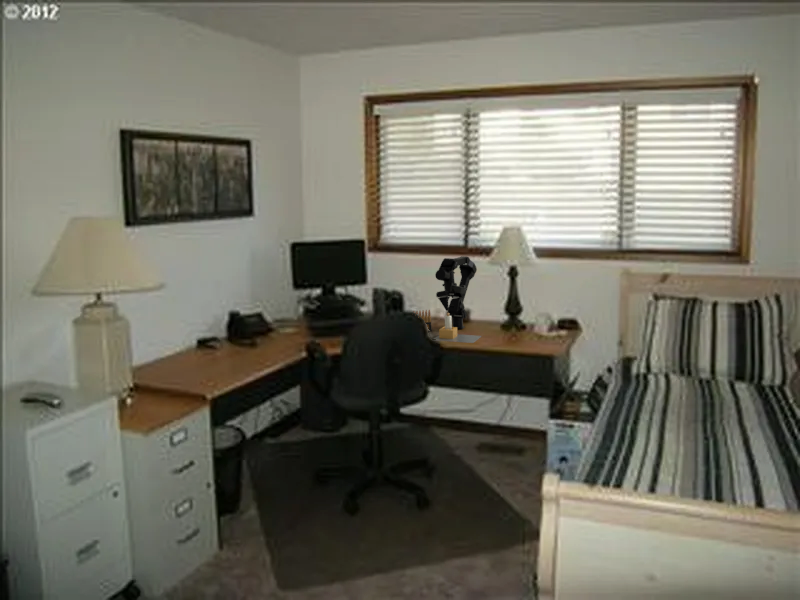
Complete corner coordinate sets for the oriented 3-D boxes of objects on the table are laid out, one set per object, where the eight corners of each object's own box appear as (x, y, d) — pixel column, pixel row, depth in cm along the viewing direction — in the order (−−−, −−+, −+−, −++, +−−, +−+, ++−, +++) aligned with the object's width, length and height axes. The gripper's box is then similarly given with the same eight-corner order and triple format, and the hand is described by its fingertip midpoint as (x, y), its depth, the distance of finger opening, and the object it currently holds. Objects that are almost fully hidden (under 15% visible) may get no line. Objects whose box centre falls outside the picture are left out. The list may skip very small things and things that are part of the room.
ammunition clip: (413, 332, 379) (412, 311, 377) (412, 332, 381) (411, 310, 378) (431, 331, 382) (431, 309, 380) (430, 330, 384) (430, 308, 382)
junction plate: (441, 335, 372) (441, 324, 371) (481, 337, 364) (481, 327, 363) (431, 341, 357) (431, 331, 356) (473, 344, 349) (473, 334, 348)
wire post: (446, 335, 365) (445, 312, 363) (452, 336, 364) (452, 312, 362) (444, 337, 362) (443, 313, 360) (450, 337, 361) (450, 314, 359)
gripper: (451, 278, 361) (454, 308, 359) (471, 280, 375) (474, 309, 374) (434, 281, 367) (437, 311, 366) (454, 283, 382) (456, 312, 380)
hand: (452, 310), depth 371 cm, fingers open, 9 cm apart
